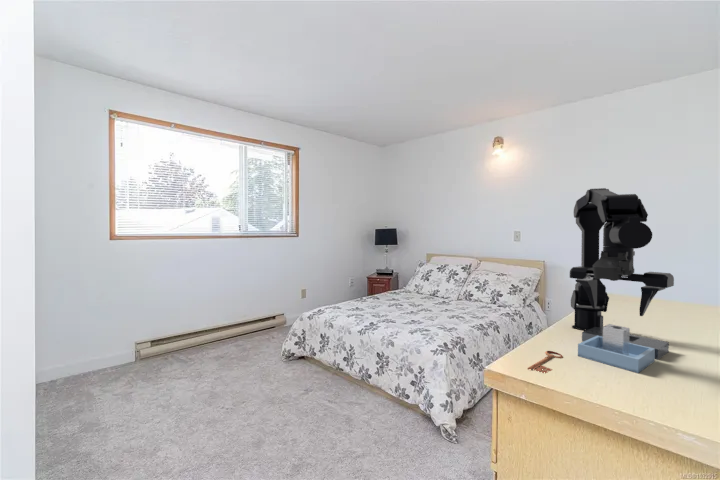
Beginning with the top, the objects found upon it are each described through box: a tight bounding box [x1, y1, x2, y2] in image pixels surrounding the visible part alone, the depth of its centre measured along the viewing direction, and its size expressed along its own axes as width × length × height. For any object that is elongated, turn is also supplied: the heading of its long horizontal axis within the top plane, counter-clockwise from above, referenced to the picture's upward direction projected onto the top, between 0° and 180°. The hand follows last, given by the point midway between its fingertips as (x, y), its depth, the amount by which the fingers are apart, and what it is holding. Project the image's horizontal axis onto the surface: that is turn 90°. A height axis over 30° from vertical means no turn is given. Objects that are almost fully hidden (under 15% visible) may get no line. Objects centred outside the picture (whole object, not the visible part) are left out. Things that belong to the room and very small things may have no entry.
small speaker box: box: [603, 323, 631, 356], centre depth 77 cm, size 4×4×7 cm
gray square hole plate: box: [581, 327, 670, 361], centre depth 85 cm, size 16×9×2 cm, turn 34°
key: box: [527, 350, 564, 374], centre depth 75 cm, size 6×1×15 cm
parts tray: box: [577, 336, 656, 374], centre depth 77 cm, size 12×12×3 cm
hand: (616, 311), depth 77 cm, fingers open, 9 cm apart
